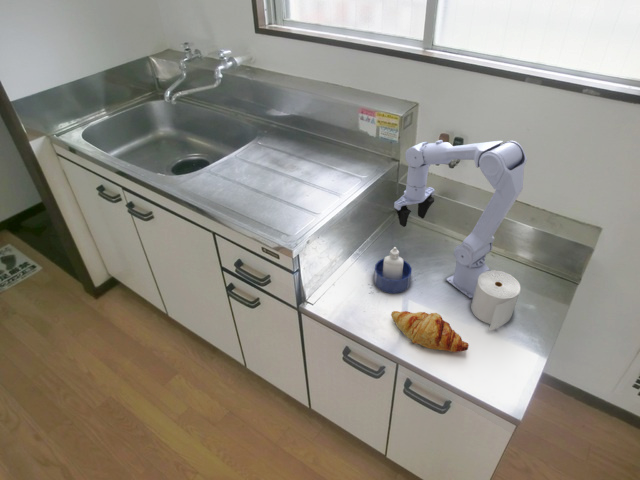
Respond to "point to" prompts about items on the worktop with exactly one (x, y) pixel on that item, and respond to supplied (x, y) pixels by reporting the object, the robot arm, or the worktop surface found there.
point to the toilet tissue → (495, 298)
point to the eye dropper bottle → (393, 266)
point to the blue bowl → (392, 285)
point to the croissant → (429, 331)
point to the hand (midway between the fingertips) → (411, 221)
